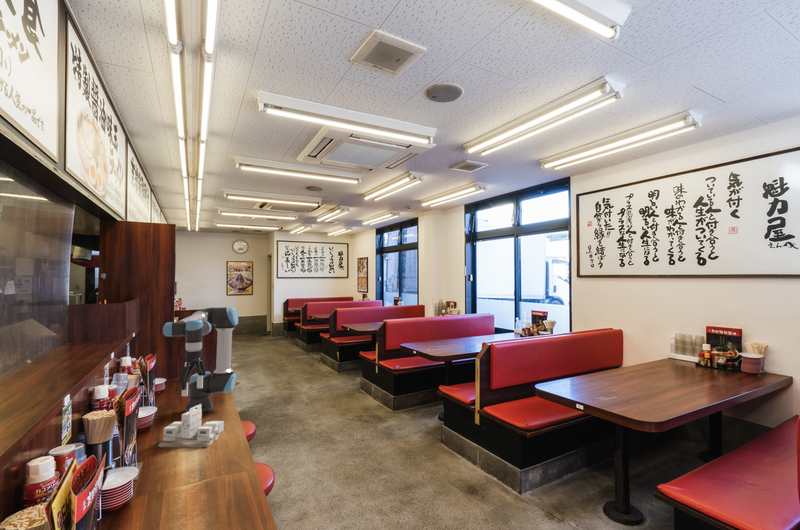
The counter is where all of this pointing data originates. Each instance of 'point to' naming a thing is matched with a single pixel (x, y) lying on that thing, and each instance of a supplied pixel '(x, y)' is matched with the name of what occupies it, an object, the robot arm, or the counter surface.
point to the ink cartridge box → (191, 422)
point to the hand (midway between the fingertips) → (192, 392)
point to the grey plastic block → (220, 425)
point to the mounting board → (202, 439)
